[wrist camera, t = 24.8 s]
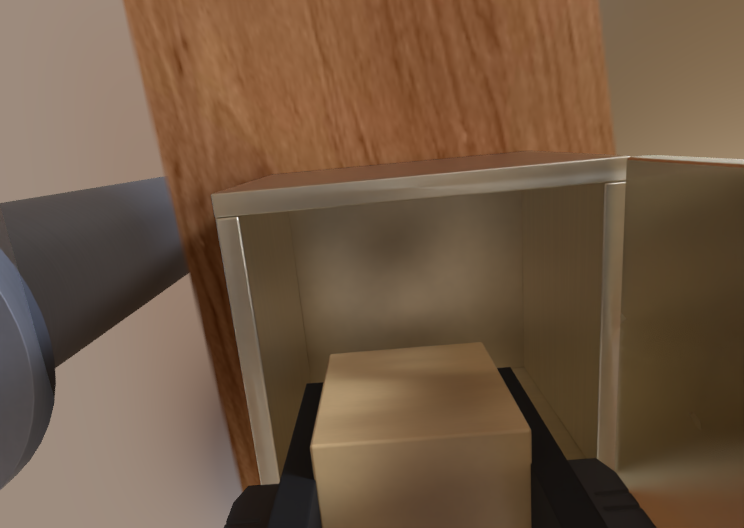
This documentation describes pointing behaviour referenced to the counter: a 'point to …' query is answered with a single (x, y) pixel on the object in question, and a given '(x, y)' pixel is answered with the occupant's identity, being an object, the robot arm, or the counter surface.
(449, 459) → the block
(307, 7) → the counter surface
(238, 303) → the open box
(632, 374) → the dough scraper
